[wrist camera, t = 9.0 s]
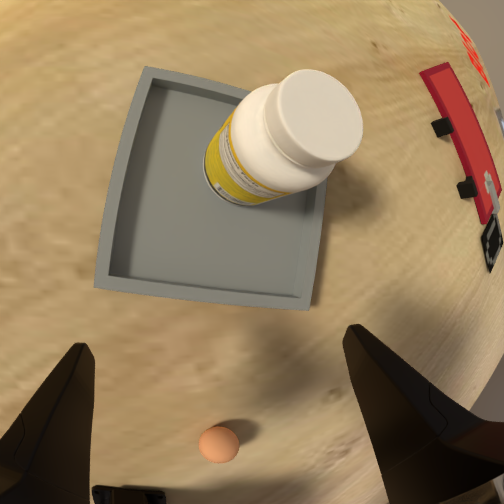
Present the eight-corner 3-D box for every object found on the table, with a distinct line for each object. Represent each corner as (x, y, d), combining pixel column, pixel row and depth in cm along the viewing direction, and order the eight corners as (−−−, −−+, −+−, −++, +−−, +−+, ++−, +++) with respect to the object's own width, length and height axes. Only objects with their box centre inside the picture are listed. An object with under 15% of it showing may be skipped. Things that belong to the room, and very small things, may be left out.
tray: (296, 305, 22) (309, 310, 20) (97, 283, 17) (93, 287, 15) (319, 128, 22) (332, 121, 21) (143, 78, 17) (144, 66, 15)
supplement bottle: (266, 124, 20) (354, 60, 11) (286, 197, 21) (390, 172, 12) (191, 136, 18) (243, 53, 9) (212, 216, 19) (284, 194, 10)
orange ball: (229, 447, 20) (242, 468, 18) (193, 448, 19) (202, 472, 17) (234, 418, 21) (248, 439, 18) (196, 419, 19) (205, 442, 17)
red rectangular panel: (481, 281, 34) (504, 228, 38) (496, 283, 31) (517, 227, 36) (403, 79, 27) (441, 64, 32) (420, 71, 25) (454, 58, 29)
